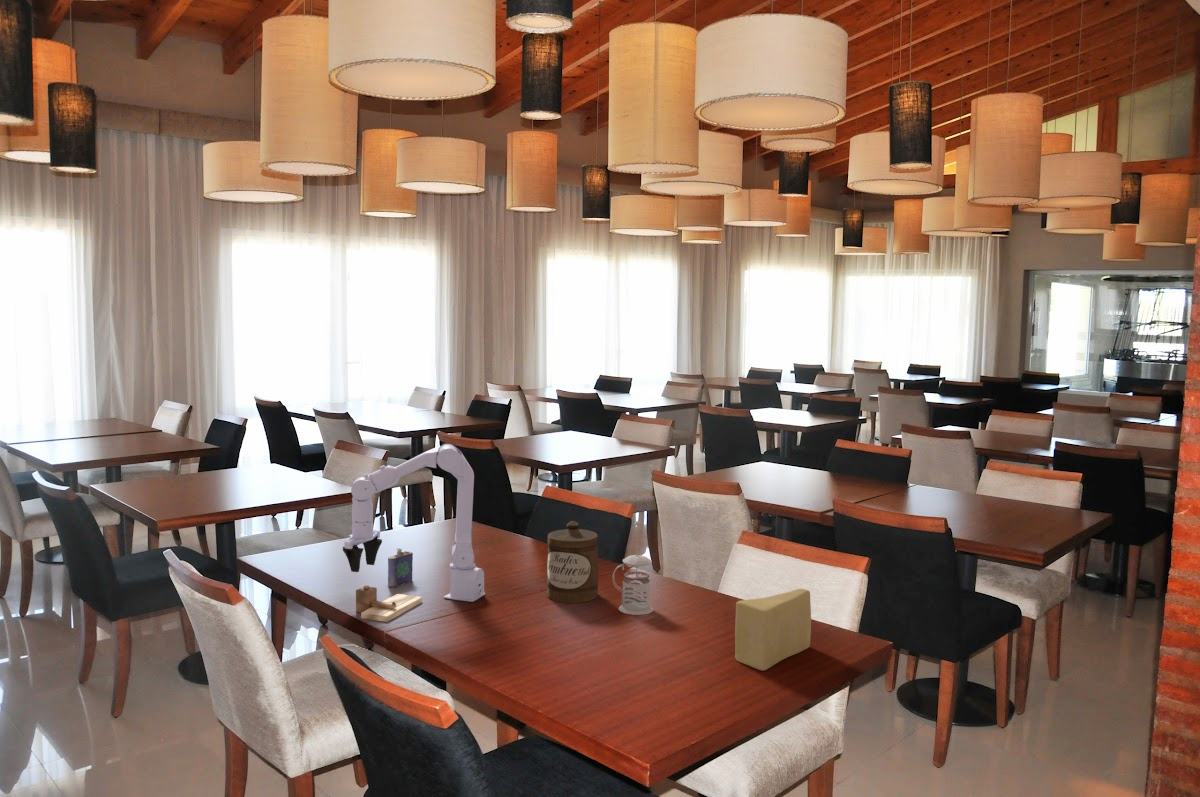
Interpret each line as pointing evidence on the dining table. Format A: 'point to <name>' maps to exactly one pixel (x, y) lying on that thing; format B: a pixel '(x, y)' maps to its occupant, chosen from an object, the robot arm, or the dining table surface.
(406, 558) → the flask
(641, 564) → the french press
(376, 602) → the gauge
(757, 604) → the cheese
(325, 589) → the dining table surface
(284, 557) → the dining table surface
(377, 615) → the board
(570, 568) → the wooden container
